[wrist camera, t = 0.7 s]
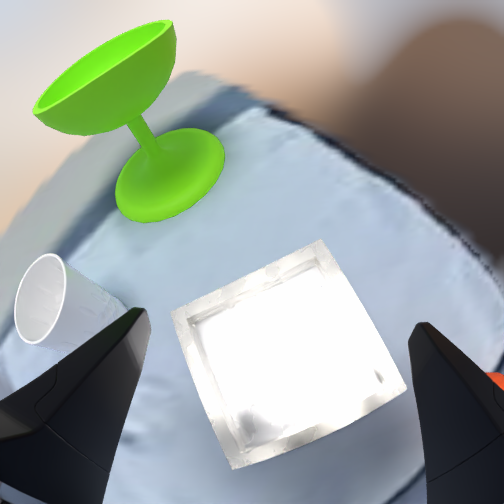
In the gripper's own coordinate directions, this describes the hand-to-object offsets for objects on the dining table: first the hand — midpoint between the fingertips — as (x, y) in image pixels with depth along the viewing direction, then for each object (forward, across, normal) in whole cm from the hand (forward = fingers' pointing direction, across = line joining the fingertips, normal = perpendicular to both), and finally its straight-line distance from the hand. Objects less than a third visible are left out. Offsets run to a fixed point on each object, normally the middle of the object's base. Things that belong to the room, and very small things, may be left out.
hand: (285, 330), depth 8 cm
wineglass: (+28, +14, +3) cm, 32 cm away
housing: (+8, -2, +12) cm, 15 cm away
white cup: (+11, +17, +15) cm, 25 cm away
